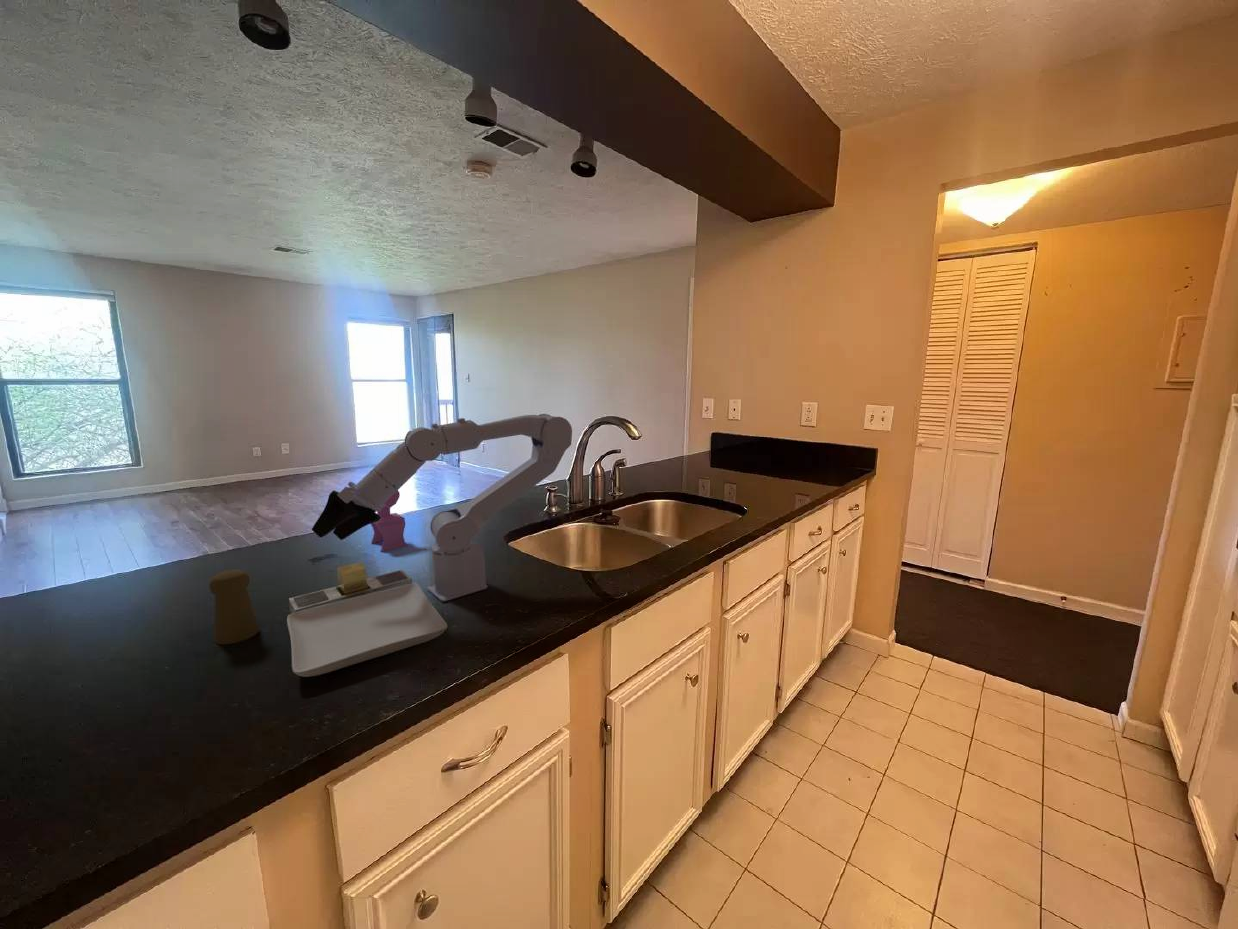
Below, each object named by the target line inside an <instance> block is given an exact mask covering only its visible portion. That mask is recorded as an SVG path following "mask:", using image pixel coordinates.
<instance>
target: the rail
mask: <svg viewBox="0 0 1238 929" xmlns="http://www.w3.org/2000/svg"><path fill="white" fill-rule="evenodd" d="M366 578H367V577H366ZM412 583H413V578H412V577H411V576H410V575H409V574H408V573H407V572H405V571H404V570H403V569H400V570H396V571H392V572H388V573H383V574H379V575H376V576H371V577H368V578H367V588H368V589H367V590H363V591H359V592H356V593H352V594H348V595H345V596H342V595H341V594H340V592H339V585H338V586H333V587H329V588H324V589H321V590H317V591H313V592H309V593H305V594H301V595H297V596H294V597H290V598H288V603H289V610H290V614H292V613H295V612H299V611H303V610H307V609H311V608H315V607H319V606H323V605H326V604H330V603H334V602H338V601H342V600H346V599H350V598H354V597H358V596H362V595H366V594H370V593H374V592H379V591H383V590H387V589H391V588H395V587H399V586H404V585H408V584H412Z"/></svg>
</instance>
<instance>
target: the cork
mask: <svg viewBox="0 0 1238 929" xmlns="http://www.w3.org/2000/svg"><path fill="white" fill-rule="evenodd" d="M250 580H251V579H250V576H249V573H247V572H246V570H242V569H230V570H224V571H222V572H219V573H216V574H215V575H213V576H212V577H211V578H210V580H209V582H208V587H209V591H210V593H211V594H212V595H213V596H214V599H215V600H214V643H216V644H217V645H230V644H236V643H240V642H243V641H247V640H249V639H250V638H253V637H254V636H256V635H257V634H258V633H259V632H260V631H261V628H260V625H259V621H258V619H257V616H256V613H255V610H254V607H253V604H252V601H251V598H250V595H249V592H248V589H247V588H248V587H249V586H250V583H251V581H250Z"/></svg>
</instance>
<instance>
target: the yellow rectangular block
mask: <svg viewBox="0 0 1238 929" xmlns="http://www.w3.org/2000/svg"><path fill="white" fill-rule="evenodd" d="M336 572H337V580H338V581H337V582H338V586H339V592H340V594H341V595H342V596H345V595H348V594H352V593H356V592H359V591H363V590H367V589H368V588H367V569H366V567H365V566H364V565H363V564H362V563H361V562H356V563H352V564H347V565H343V566H339V567H336Z"/></svg>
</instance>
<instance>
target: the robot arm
mask: <svg viewBox="0 0 1238 929" xmlns="http://www.w3.org/2000/svg"><path fill="white" fill-rule="evenodd" d="M430 426H431V428H427V427H417V428H416V427H415V428H413V429H412V430H408V431H407V433H406V434H405V437H404V441H403V442H401V443H399V444H398V445H397V447H396V448H395V449H393V450H391V451H390V452H389V453H388V454H387V455H386V456H385V457H384V458H383V459H382V460H381V461H379V462H378V463H377V465H375V466H374V467H373V468H372V469H371V470H370V471H369V472H368V473H367V474H365V476H363V477H362V478H361V480H359V481H358V482H357V483H354V482H352V481H349V482H348V483H347V486H349V487H347V486H345V487H344V488H343V489H342V490H341V491H336V490H332V491H331V492H330V493H329V495H328V499H327V502H326V505H325V506H324V509H323V511H322V512H321V514H320V516H319V517H318V519H316V521H315V523H314V524H313V526H312V528H311V531H313V533H314V534H316V535H317V536H318V537H319V538H324V537H325V536H327V535H328V534H330V533H331V532H332V533H333V534H334V535H335V536H336V537H337V538H338V539H339V540H340V541H343V540H344V539H346V538H348V537H350V536H351V535H353V534H354V533H356V532H357V531H359V530H361V529H362V528H365V527H366V526H368V525H371V523H373V522H377V521H379V520H380V519H381V517H380V516H379V515H378V514H377V512H380V511H381V510H382V509H383V508H384V507H385V506H386V505H385V504H384V503H385V502H386V501H387V500H388V499H389V498H390V497H391V496H392V495H393V494H394V493H395V492H396V491H399V490H400V489H401V488H402V487H403V486H404V485H405V484H406V483H407V482H408V481H409V480H410V479H411V478H412V477H413V476H414V475H415V474H416V473H417V471H418V470H419V469H420V468H421V467H422V466H424V465H425V464H426V463H427V462H426V461H429V462H432V461H434V460H437V458H438V457H440V455H441V454H442V455H444V456H445V455H446V456H447V455H450V454H451V455H452V454H457V453H460V452H466V451H470V450H471V451H472V450H476V449H478V447H479V446H480V444H481V443H482V442H483V441H488V440H497V439H502V438H507V437H508V438H509V437H515V436H520V435H521V436H524V437H525V436H526V437H528V438H530V439H531V443H532V448H531V457H530V458H529V459H528V460H526V461H525V462H523V463H522V464H521V465H519V466H518V467H517V468H514V469H513V470H512V471H510V472H509V473H508V474H507V475H504V477H502V478H501V479H499V480H497V481H496V482H495V483H493V484H492V485H491V486H489V487H488V488H486V489H484V490H483V491H481V493H478V494H477V495H476V496H475V497H473V498H471V499H470V500H469V501H466V502H463V503H459V504H457V505H455V506H454V507H453V508H450V509H445V510H441V511H439V512H437V513H436V514H435V515H434V516H433V517H432V520H430V525H429V528H430V531H431V534H432V536H433V537H434V538H435V541H434V543H433V545H432V546H431V556H432V559H431V560H432V569H433V570H432V571H433V573H432V574H433V584H432V585H430V586H429V585H428V586H427V587H426V589H427V591H429V592H430V593H431V594H432V595H433V596H435V597H436V599H438V600H439V601H440V602H443V603H444V602H448V601H450V600H454V599H456V598H461V597H463V596H466V595H469V594H473V593H476V592H480V591H483V590H486V589H487V588H488V585H487V581H486V567H485V555H484V552H483V549H482V547H481V545H480V544H479V543H477V542H470V541H472V538H474V537H475V536H476V535H478V533H480V531H481V528H482V527H483V524H484V523H485V522H486V521H487V520H489V519H490V518H492V517H494V516H495V515H496V514H497V513H499V512H501V511H502V510H503V509H504V508H506V507H508V506H509V505H510V504H512V503H513V502H514V501H515V500H517V499H518V498H520V497H521V496H522V495H524V494H525V493H527V492H529V491H530V490H531V489H532V488H534V487H535V486H537V485H538V484H539V483H541V482H542V481H543V480H545V479H546V478H547V477H549V476H551V475H552V474H553V473H554V472H555V471H556V470H557V468H558V465H559V464H560V461H561V460H562V458H563V456H564V454H565V452H566V451H567V449H569V448H570V447H571V445H572V439H573V438H572V437H573V427H572V425H571V424H570V422H569V421H568V419H566V418H565V417H562V416H553V415H550V414H547V413H541V414H538V415H537V414H527V415H526V414H524V415H518V416H514V417H511V418H505V419H501V420H496V421H491V422H487V423H482V424H477V423H476V422H474V421H473V420H471V419H468V420H466V418H464V417H459V418H457V419H456V422H450V423H445V424H439V425H438V423H432V424H431V423H430Z"/></svg>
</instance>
